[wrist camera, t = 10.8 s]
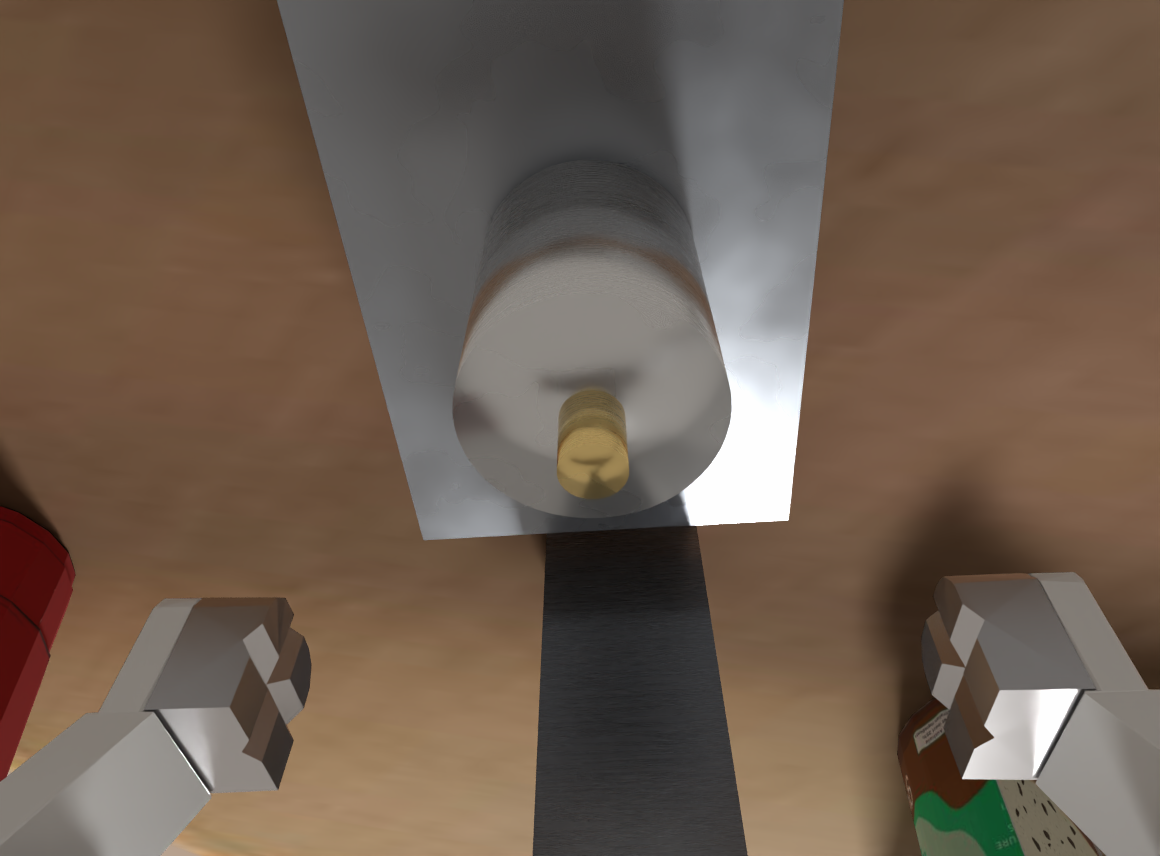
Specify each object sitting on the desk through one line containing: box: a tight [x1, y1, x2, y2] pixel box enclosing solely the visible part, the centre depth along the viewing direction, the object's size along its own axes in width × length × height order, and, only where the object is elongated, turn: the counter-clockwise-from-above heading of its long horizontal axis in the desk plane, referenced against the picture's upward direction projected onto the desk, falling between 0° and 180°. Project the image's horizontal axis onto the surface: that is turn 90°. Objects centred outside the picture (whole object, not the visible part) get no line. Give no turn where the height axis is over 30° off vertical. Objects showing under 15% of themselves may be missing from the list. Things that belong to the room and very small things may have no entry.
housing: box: [452, 160, 732, 518], centre depth 17 cm, size 5×5×8 cm
